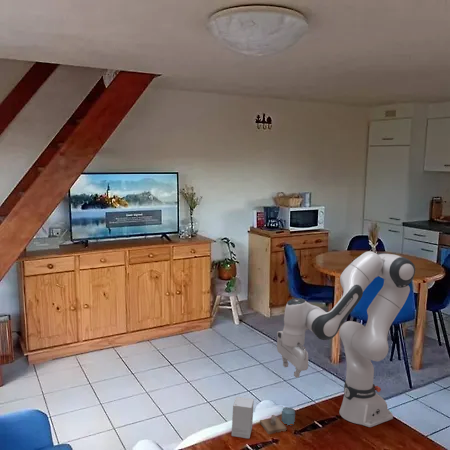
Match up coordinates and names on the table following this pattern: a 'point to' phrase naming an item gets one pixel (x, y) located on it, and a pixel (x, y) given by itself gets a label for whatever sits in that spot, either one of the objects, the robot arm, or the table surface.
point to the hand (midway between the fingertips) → (290, 371)
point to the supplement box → (242, 417)
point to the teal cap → (288, 416)
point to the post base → (273, 425)
